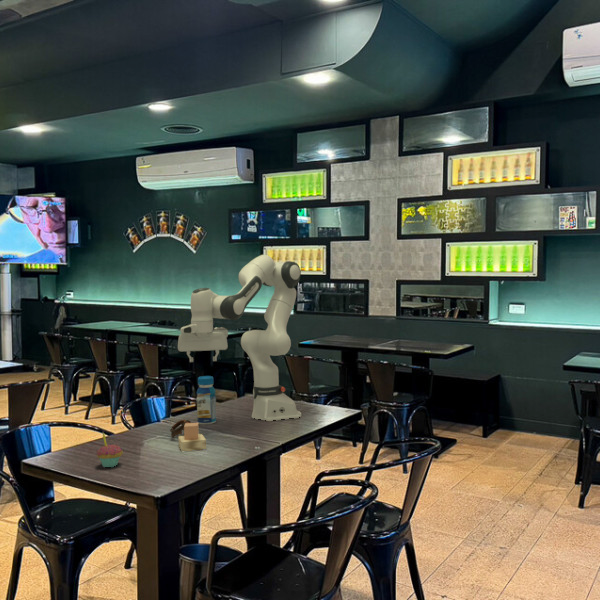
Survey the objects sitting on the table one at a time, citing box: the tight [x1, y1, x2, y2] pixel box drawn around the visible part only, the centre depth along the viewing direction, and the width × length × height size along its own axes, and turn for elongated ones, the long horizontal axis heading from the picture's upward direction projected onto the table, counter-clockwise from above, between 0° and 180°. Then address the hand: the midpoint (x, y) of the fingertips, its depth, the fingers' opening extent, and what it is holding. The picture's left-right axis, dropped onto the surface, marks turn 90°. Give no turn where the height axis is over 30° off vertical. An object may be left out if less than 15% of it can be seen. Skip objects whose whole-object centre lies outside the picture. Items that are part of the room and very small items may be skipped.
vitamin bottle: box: [196, 375, 217, 425], centre depth 274 cm, size 8×8×20 cm
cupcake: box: [96, 432, 124, 468], centre depth 215 cm, size 9×8×12 cm
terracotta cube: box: [183, 422, 200, 440], centre depth 236 cm, size 5×5×5 cm
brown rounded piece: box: [169, 419, 192, 439], centre depth 251 cm, size 12×10×8 cm
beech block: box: [177, 433, 207, 452], centre depth 236 cm, size 9×9×4 cm
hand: (203, 361), depth 257 cm, fingers open, 8 cm apart
